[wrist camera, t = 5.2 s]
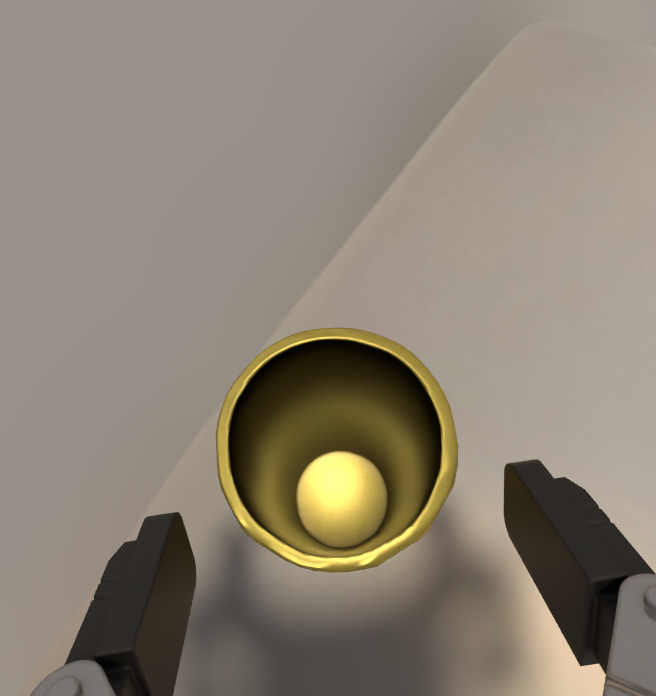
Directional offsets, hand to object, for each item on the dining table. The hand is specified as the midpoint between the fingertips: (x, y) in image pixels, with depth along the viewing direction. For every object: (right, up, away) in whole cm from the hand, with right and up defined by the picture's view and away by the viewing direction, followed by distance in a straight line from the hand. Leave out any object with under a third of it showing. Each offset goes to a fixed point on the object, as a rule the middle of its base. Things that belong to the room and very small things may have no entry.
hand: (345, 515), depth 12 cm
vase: (0, -3, +12) cm, 12 cm away
